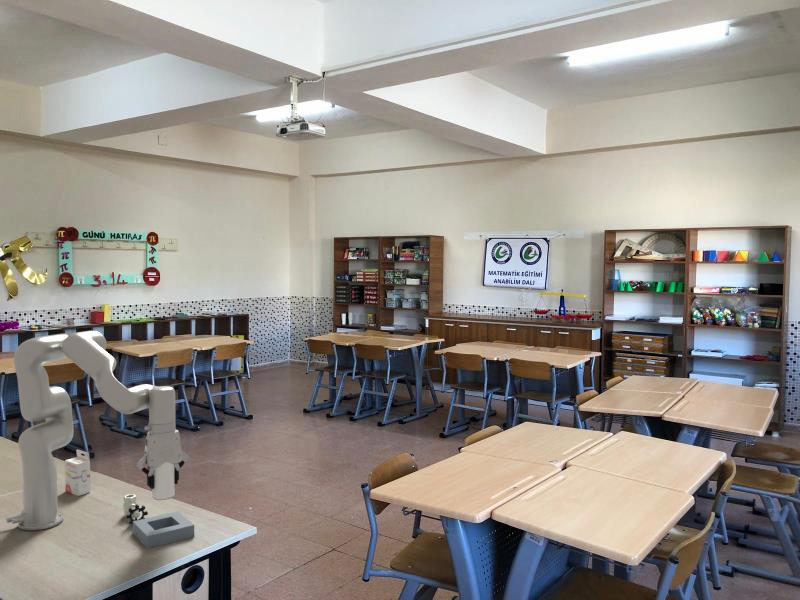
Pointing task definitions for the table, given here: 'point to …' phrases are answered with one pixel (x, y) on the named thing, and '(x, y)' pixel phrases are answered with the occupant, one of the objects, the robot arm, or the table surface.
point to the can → (163, 481)
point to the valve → (132, 508)
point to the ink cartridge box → (78, 474)
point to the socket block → (163, 529)
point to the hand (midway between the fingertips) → (163, 484)
